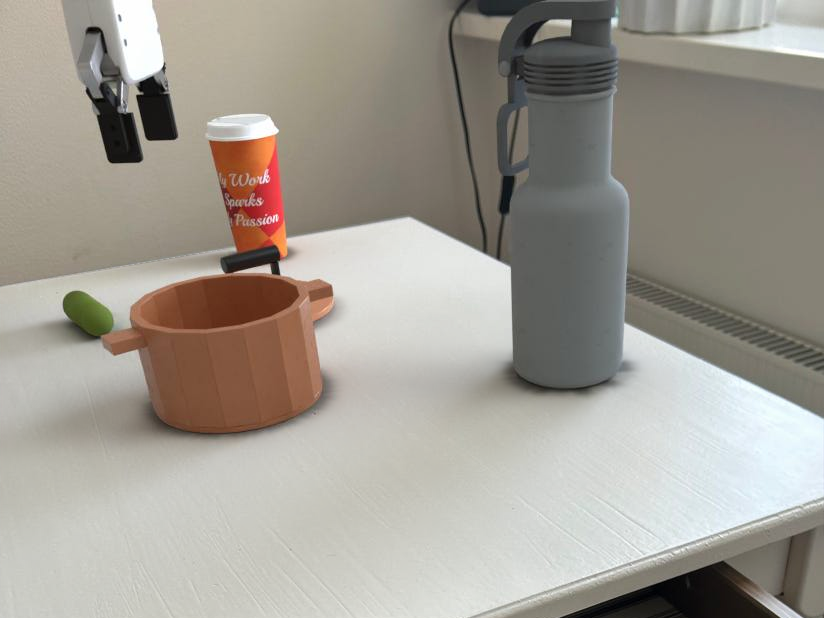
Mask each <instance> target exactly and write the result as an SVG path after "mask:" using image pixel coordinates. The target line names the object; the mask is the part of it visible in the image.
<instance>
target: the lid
mask: <svg viewBox="0 0 824 618" xmlns="http://www.w3.org/2000/svg"><path fill="white" fill-rule="evenodd" d="M281 259H282V258H281V256H280V251H279V249H278V247H277V246H276V245H270V246H266V247H262V248H258V249H254V250H249V251H245V252H241V253H237V252H236V253H233V254H228V255H224V256H221V257H220V260H219V262H220V267H221V270H222V272H223V274H227V273H239V272H241V271H245V270H250V269H253V268H259V267H262V266H266V265H269V266H270V267H269V268H270V271H271V273H270V274H274V275H280V276H282V275H281V269H280V263H279V262H280V261H281ZM296 280H297V281H299V282H301V283H304V282H308V281H307V280H299V279H296ZM310 304H311V311H312V317H313V322H316V321H318V320H320V319H321V318H323V317H324V316H325V315H327V314H329V312H330V311H331V310H332V309H333V307H334V304H335V298H334V295H333V296H331V297H328V298H324V299H320V300H317V301H313V302H310Z"/></svg>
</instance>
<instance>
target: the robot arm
mask: <svg viewBox="0 0 824 618" xmlns="http://www.w3.org/2000/svg"><path fill="white" fill-rule="evenodd" d="M60 3H61V7H62V13H63V17H64V22H65V27H66V33H67V36H68V41H69V46H70V49H71V54H72V58H73V64H74V67H75V71H76V75H77V77H78V78H77V79H78V81H80V83H81V84H82V85H83V86H85V93H86V95H87V97H88V98H89V100H90V101H91V109H92V112H93V114H94V115H95V117H96V119H97V120H96V121H97V125H98V128H99V131H100V135H101V138H102V139H101V140H102V143H103V147H104V151H105V155H106V159H107V161H108V163H110V164H113V165H115V164H139V163H141V162H143V161H144V153H143V150H142V145H141V141H140V135H139V132H138V128H137V123H136V119H135V115H134V112H133V111H132V112H129V90H130V89H129V87H130V86H133V85H134V86H135V87H136V89H137V91H138V93H139V94H136V95H135V98H136V104H137V107H138V111H139V112H138V113H139V116H140V120H141V125H142V129H143V133H144V138H145V139H146V141H149V142H159V141H176V140H177V139H178V138H179V132H178V127H177V122H176V118H175V113H174V109H173V104H172V99H171V94H170V93H169V92H170V83H169V81H168V78H167V76H166V69H167V64H166V62H165V59H164V50H163V42H162V38H161V35H160V30H159V29H160V28H159V26H158V21H157V16H156V12H155V8H154V3H153V0H60ZM113 89H116V93H115V92H114V90H113Z"/></svg>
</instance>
